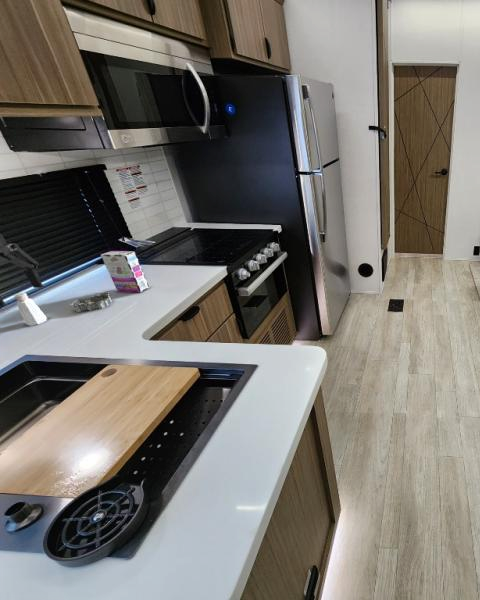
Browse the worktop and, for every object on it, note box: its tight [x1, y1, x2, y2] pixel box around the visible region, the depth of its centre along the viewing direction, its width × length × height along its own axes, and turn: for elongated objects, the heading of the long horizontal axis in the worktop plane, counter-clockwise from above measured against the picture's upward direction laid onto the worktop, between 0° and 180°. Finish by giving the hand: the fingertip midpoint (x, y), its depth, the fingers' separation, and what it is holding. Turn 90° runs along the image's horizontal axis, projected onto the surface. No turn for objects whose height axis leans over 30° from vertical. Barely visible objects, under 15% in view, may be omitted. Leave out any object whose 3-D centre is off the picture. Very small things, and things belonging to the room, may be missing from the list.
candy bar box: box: [100, 250, 150, 293], centre depth 135 cm, size 11×5×16 cm, turn 83°
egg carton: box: [69, 291, 113, 313], centre depth 126 cm, size 11×8×4 cm
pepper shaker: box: [14, 292, 48, 326], centre depth 114 cm, size 5×5×11 cm
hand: (20, 296), depth 112 cm, fingers open, 13 cm apart
